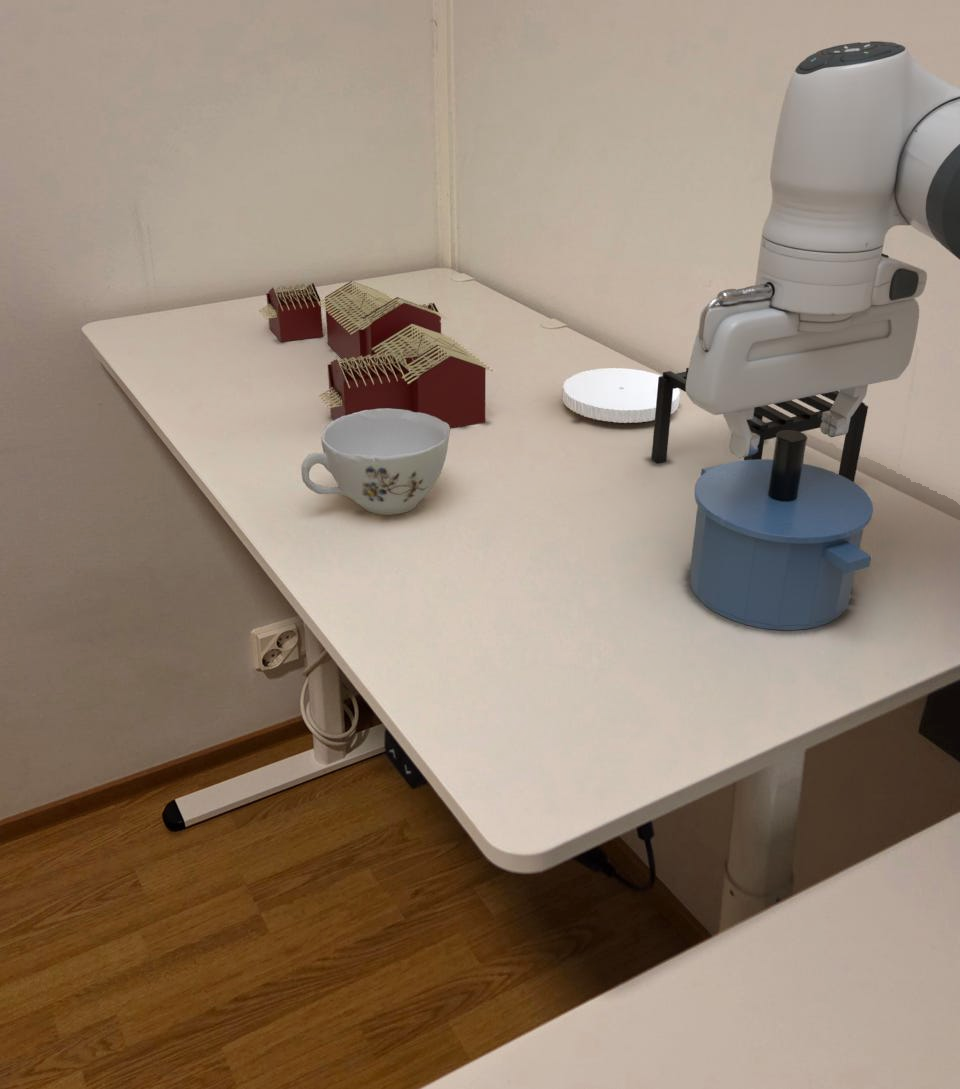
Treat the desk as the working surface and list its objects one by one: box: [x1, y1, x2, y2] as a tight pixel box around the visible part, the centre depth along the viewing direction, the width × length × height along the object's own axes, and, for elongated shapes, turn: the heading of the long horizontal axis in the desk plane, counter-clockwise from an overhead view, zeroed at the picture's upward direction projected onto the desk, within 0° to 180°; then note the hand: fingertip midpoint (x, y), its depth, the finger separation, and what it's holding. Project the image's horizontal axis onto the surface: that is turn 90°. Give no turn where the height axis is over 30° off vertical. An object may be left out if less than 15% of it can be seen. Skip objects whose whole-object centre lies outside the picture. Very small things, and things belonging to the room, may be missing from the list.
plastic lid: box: [561, 367, 681, 424], centre depth 133 cm, size 14×14×2 cm
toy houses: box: [258, 280, 494, 429], centre depth 142 cm, size 45×20×10 cm, turn 24°
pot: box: [689, 463, 873, 631], centre depth 95 cm, size 14×19×8 cm
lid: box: [693, 430, 874, 544], centre depth 92 cm, size 15×15×7 cm
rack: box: [650, 367, 869, 483], centre depth 115 cm, size 14×16×10 cm
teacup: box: [301, 408, 452, 516], centre depth 109 cm, size 15×12×8 cm
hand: (789, 443), depth 91 cm, fingers open, 8 cm apart
